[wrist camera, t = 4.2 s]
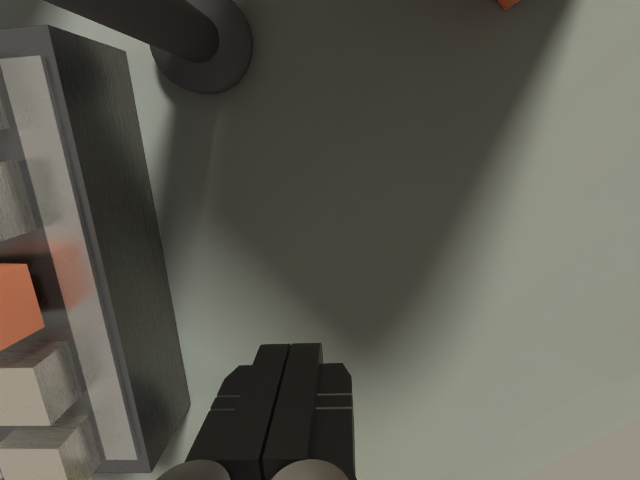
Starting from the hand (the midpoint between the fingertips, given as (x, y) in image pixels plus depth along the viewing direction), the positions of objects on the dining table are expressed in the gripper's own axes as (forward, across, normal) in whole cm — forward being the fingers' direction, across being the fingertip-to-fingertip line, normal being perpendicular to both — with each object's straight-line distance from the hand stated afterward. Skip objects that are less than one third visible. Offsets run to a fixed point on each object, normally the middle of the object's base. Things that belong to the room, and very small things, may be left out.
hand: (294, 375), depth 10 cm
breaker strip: (+11, +13, 0) cm, 17 cm away
